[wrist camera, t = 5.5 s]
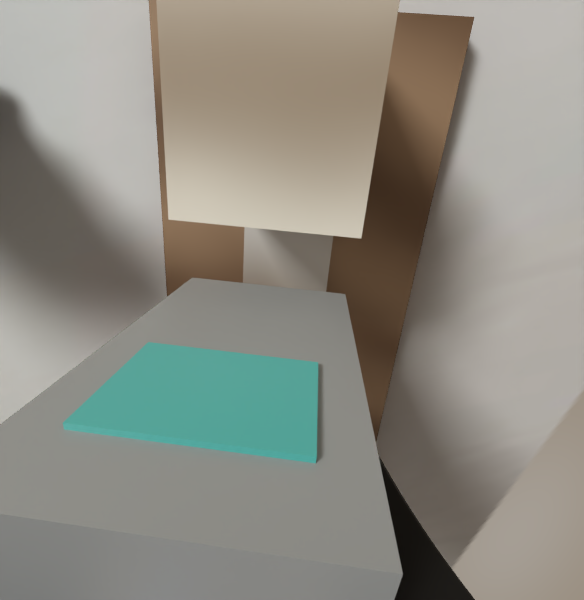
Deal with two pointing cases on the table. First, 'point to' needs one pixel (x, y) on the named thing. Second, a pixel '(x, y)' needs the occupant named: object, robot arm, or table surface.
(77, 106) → the table surface
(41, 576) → the block
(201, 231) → the board
